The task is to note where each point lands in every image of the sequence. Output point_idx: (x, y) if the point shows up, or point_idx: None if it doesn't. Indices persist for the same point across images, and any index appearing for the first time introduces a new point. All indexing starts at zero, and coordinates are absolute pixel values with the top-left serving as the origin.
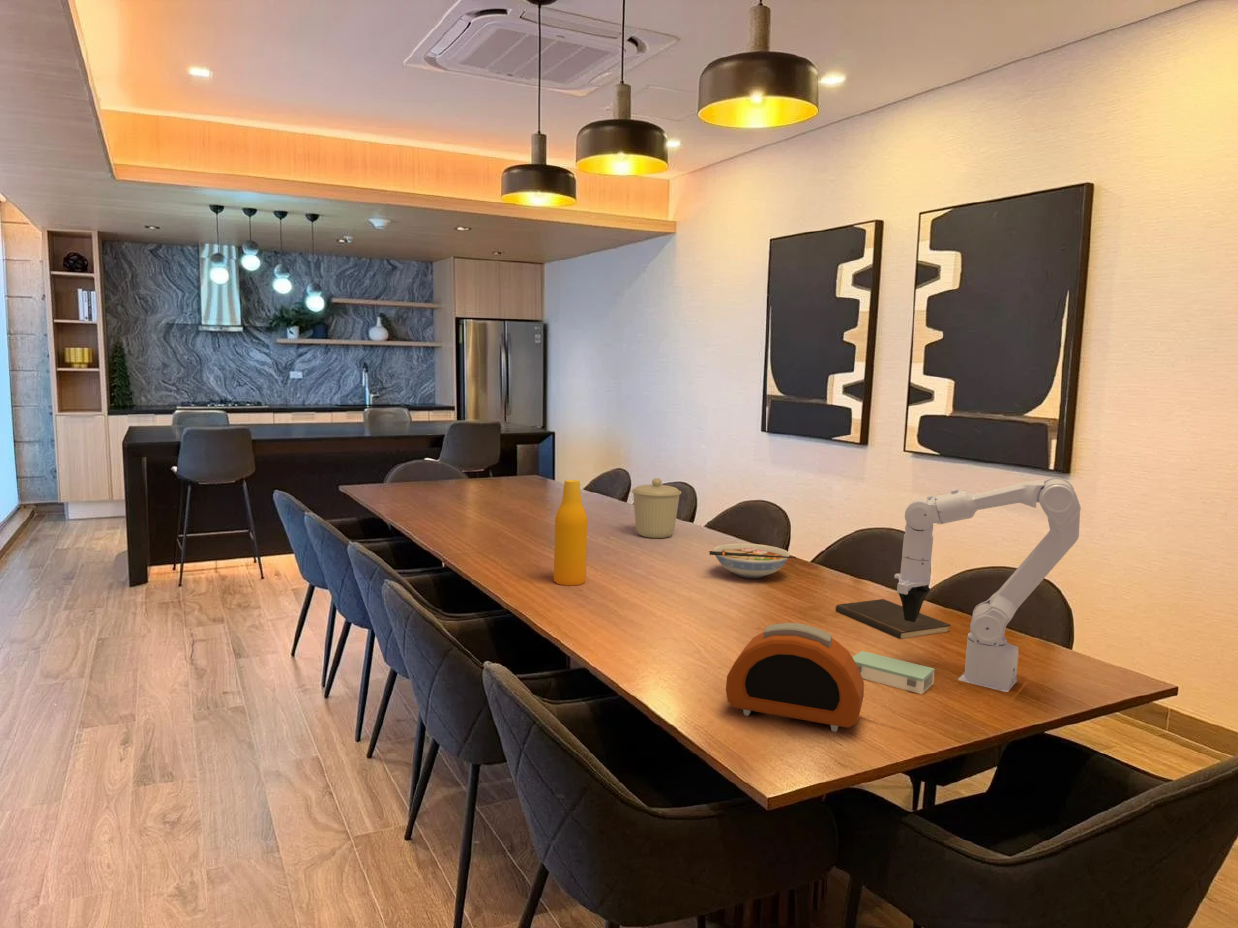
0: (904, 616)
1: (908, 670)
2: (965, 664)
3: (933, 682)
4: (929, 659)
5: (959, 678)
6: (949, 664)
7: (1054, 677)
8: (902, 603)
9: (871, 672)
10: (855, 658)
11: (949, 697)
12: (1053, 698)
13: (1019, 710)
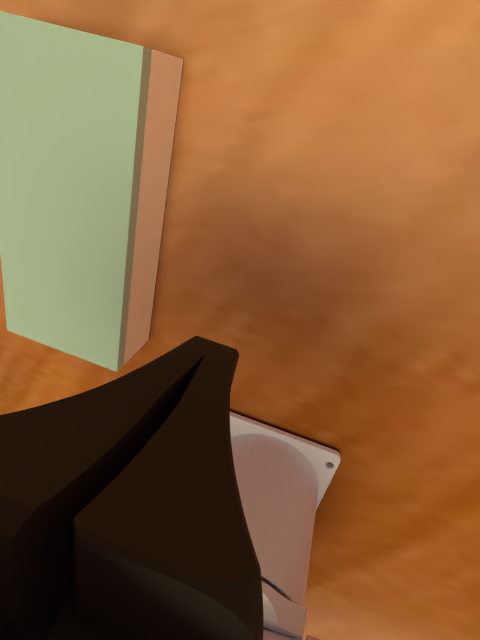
0: (182, 346)
1: (44, 286)
2: (244, 464)
3: (142, 345)
4: (436, 345)
5: (233, 418)
6: (398, 407)
7: (392, 623)
8: (93, 390)
9: None
10: (21, 39)
11: (96, 372)
12: None
13: None
